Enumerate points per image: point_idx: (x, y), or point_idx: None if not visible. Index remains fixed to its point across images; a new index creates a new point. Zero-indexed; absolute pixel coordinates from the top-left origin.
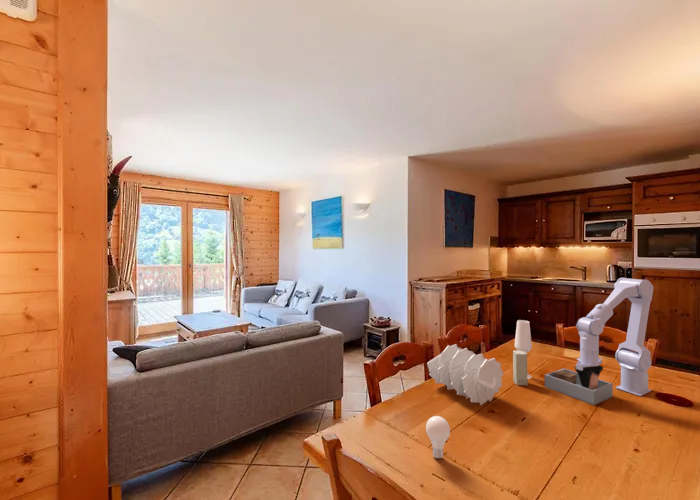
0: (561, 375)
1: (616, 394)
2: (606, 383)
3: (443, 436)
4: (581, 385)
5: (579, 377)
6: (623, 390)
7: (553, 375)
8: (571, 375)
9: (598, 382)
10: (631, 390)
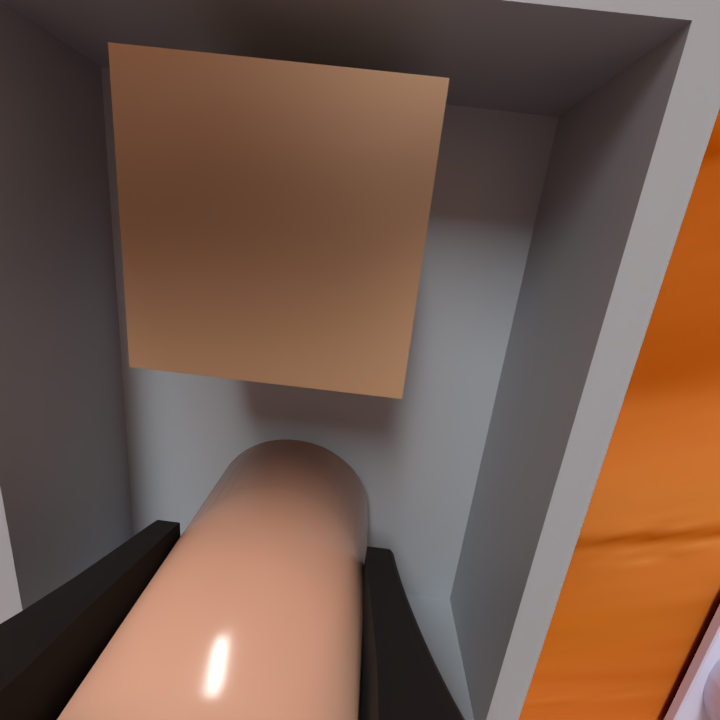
0: (130, 196)
1: (557, 610)
2: (481, 705)
3: None
4: (234, 483)
5: (15, 617)
6: (704, 638)
7: (189, 3)
8: (266, 356)
9: (494, 610)
10: (713, 706)
